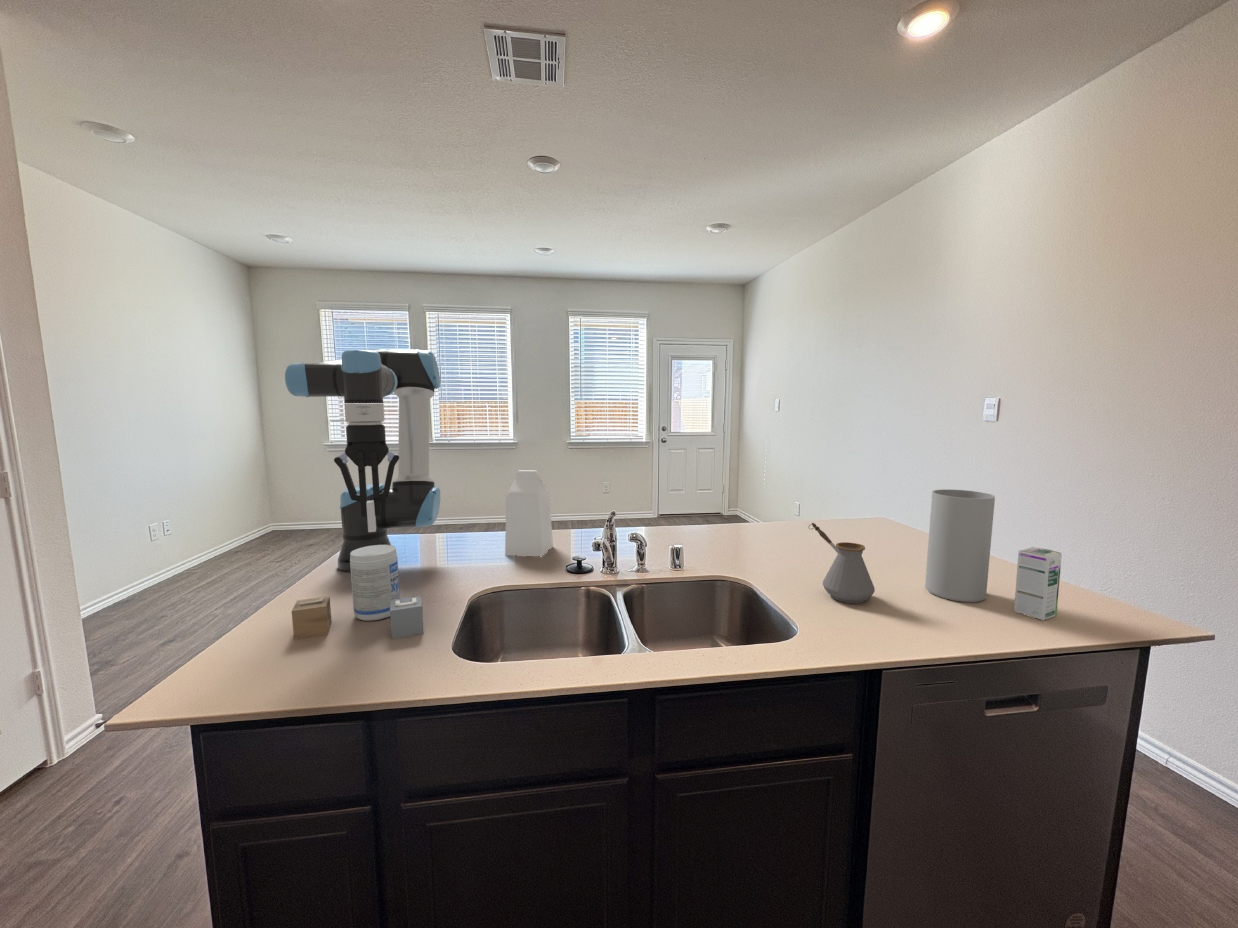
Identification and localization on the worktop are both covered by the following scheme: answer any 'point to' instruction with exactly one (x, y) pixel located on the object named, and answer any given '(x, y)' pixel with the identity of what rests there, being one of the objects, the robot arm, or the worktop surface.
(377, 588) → the supplement tub
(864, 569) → the coffee pot
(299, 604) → the walnut marked block
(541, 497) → the milk
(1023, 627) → the worktop surface
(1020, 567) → the syrup box
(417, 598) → the slate grey marked block
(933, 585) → the cylinder vase
